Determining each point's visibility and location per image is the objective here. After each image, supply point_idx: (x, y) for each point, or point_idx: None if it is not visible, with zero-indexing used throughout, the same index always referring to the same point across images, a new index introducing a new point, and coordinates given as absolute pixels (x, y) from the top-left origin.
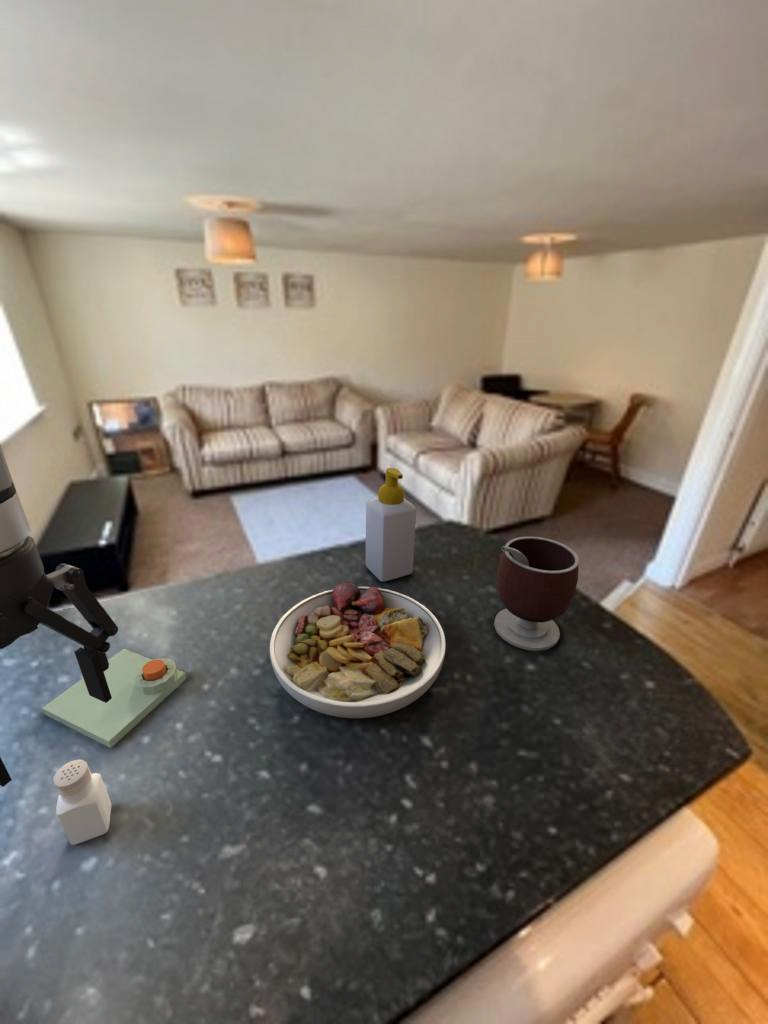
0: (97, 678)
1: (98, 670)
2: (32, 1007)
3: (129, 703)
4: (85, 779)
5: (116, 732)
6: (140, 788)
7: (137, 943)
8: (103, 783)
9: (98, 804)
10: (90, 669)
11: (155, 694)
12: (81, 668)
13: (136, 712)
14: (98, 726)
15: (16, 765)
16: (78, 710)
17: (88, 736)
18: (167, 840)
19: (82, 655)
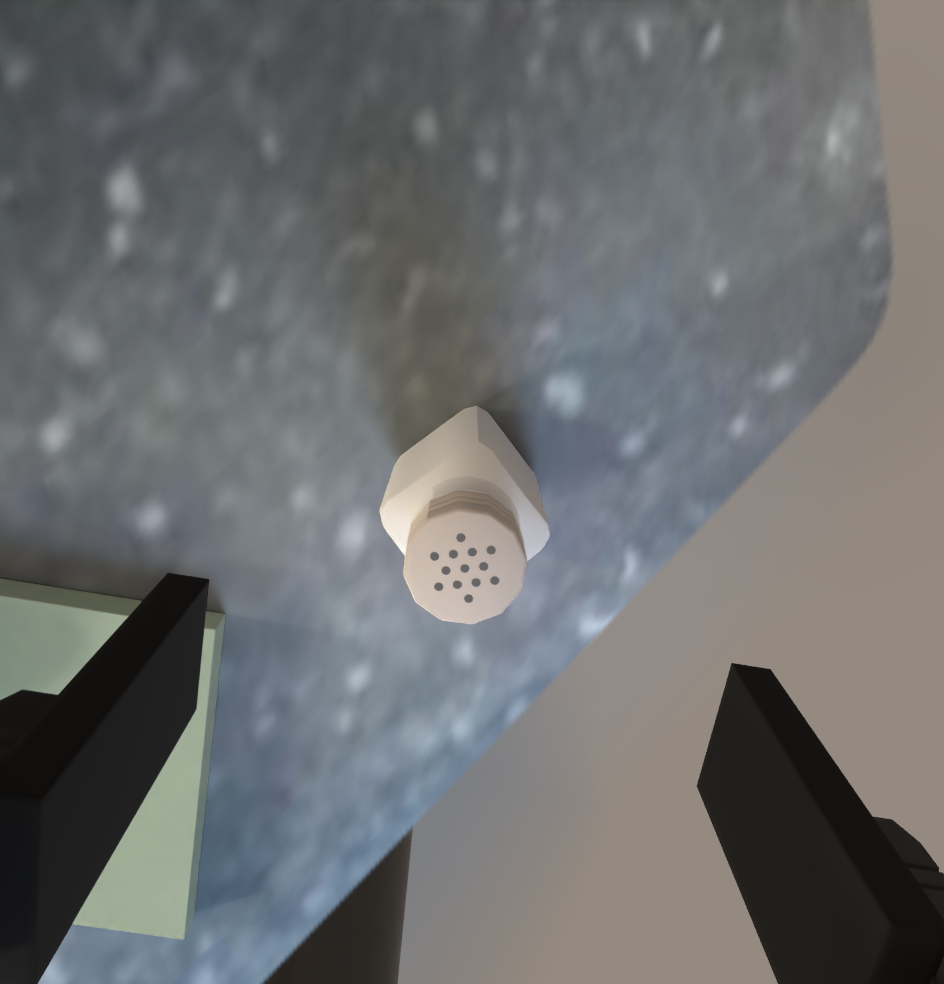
0: (134, 681)
1: (86, 705)
2: (880, 273)
3: (50, 676)
4: (460, 499)
5: None
6: (319, 406)
7: (720, 83)
8: (391, 486)
9: (470, 435)
10: (103, 766)
11: None
12: (110, 843)
13: (74, 621)
14: None
15: (369, 843)
16: (146, 822)
17: (214, 718)
18: (447, 187)
19: (38, 899)
